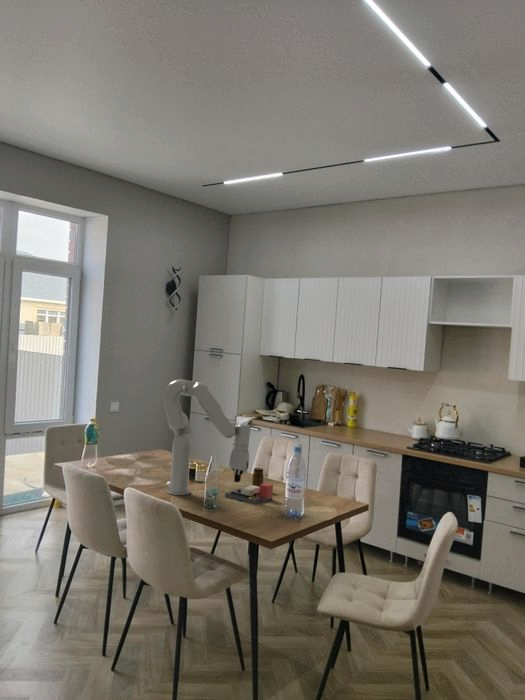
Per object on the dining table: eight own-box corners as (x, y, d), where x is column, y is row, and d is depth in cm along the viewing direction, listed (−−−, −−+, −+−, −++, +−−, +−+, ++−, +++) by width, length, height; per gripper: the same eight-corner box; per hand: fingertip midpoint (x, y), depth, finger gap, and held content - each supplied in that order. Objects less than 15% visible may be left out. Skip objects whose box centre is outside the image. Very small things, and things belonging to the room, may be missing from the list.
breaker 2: (246, 492, 301) (247, 486, 301) (251, 490, 305) (252, 485, 305) (254, 494, 298) (254, 488, 298) (259, 492, 302) (260, 486, 302)
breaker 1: (240, 494, 295) (241, 488, 295) (246, 492, 300) (246, 487, 300) (248, 496, 293) (249, 490, 293) (254, 494, 297) (254, 489, 297)
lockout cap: (259, 495, 296) (259, 484, 296) (264, 494, 300) (265, 483, 300) (267, 497, 294) (267, 486, 294) (272, 496, 298) (272, 484, 298)
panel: (225, 496, 297) (225, 491, 297) (241, 491, 310) (241, 486, 310) (256, 504, 286) (256, 499, 286) (272, 499, 299) (272, 494, 299)
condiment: (259, 488, 321) (261, 467, 321) (266, 491, 314) (268, 470, 314) (248, 488, 318) (249, 467, 318) (255, 492, 310) (257, 471, 310)
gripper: (225, 445, 300) (221, 479, 300) (248, 450, 292) (244, 486, 292) (234, 444, 307) (230, 477, 307) (256, 449, 298) (252, 484, 298)
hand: (237, 481), depth 299 cm, fingers closed
